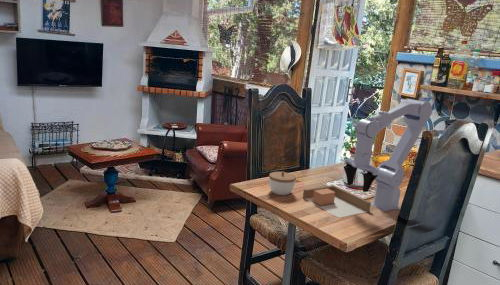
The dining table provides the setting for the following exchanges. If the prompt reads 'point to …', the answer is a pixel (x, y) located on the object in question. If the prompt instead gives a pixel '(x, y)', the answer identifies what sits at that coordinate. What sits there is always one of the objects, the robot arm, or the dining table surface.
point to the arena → (340, 202)
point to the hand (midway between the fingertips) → (357, 187)
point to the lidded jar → (281, 182)
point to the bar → (323, 196)
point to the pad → (323, 205)
